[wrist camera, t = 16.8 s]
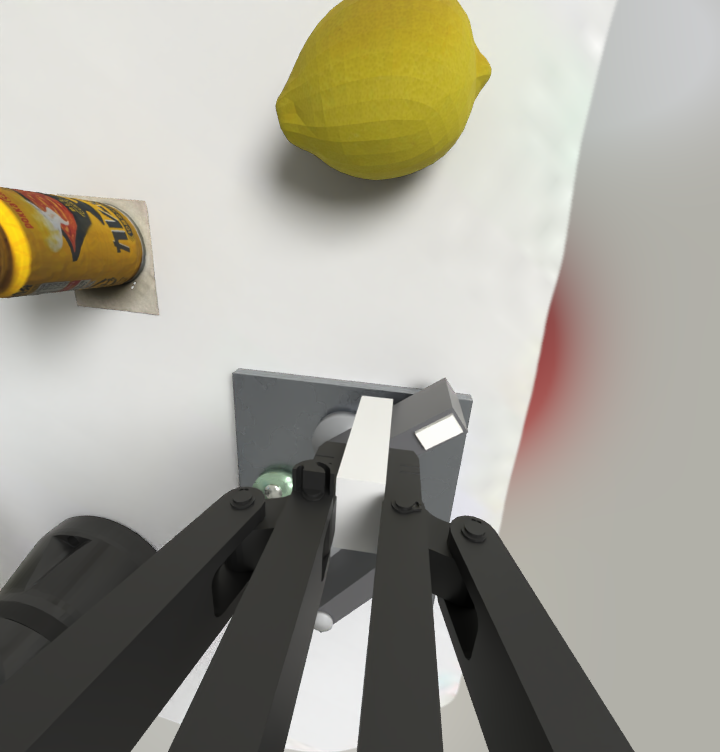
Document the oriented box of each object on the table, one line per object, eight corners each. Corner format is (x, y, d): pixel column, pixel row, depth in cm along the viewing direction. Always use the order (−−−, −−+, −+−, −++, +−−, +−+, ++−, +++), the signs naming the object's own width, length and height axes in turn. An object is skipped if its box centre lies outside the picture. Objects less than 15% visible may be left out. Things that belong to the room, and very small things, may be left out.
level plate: (432, 597, 35) (433, 619, 33) (250, 564, 37) (241, 582, 35) (470, 394, 27) (474, 406, 25) (239, 368, 29) (226, 377, 27)
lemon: (484, 32, 20) (525, -98, 13) (470, 186, 23) (497, 154, 15) (300, 48, 21) (240, -59, 14) (307, 191, 24) (259, 164, 17)
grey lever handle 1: (341, 581, 34) (325, 653, 28) (303, 552, 33) (278, 618, 27) (430, 515, 30) (434, 582, 24) (389, 480, 29) (382, 540, 23)
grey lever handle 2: (337, 471, 30) (317, 528, 24) (304, 427, 29) (275, 474, 23) (466, 407, 26) (481, 454, 20) (433, 355, 25) (439, 387, 19)
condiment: (147, 201, 26) (-55, 164, 15) (160, 314, 29) (0, 355, 18) (59, 194, 27) (-195, 153, 16) (81, 305, 30) (-120, 338, 19)
